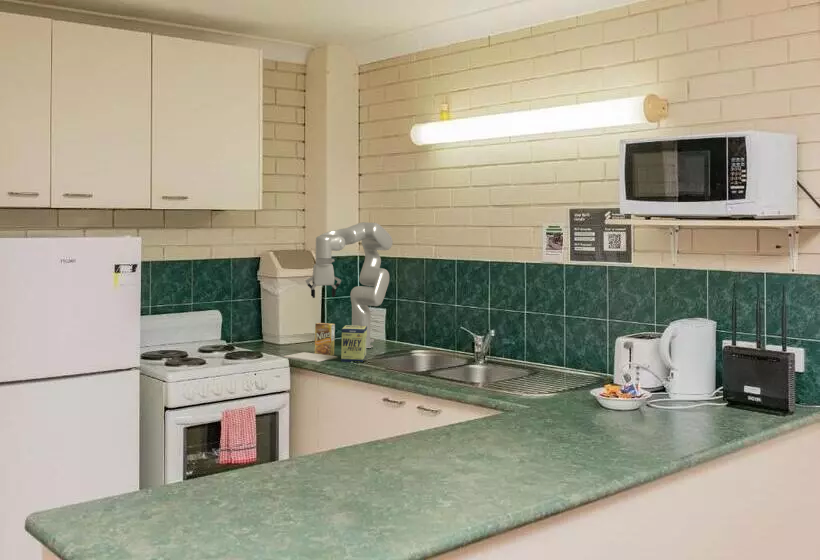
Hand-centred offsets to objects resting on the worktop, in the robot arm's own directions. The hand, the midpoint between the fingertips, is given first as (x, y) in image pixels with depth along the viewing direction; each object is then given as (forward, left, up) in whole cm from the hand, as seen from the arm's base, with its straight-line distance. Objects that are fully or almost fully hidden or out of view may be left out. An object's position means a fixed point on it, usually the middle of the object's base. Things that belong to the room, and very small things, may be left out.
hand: (323, 297), depth 434 cm
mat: (+9, 0, -28) cm, 30 cm away
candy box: (-2, 0, -28) cm, 28 cm away
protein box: (+1, +19, -28) cm, 34 cm away
